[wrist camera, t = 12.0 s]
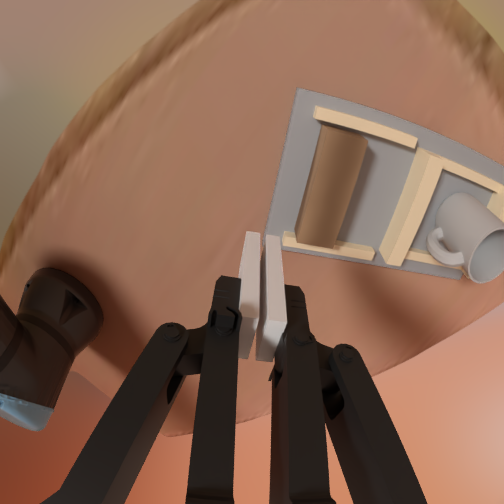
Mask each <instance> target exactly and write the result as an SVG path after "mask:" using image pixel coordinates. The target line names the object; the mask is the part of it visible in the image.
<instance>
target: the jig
mask: <svg viewBox="0 0 504 504" xmlns="http://www.w3.org/2000/svg"><path fill="white" fill-rule="evenodd" d="M322 124H324V125H328V126H332V127H336V128H340V129H343V130H347V131H351V132H354V133H358V134H360V135H361V136H363V137H364V138H365V139H367V140H368V144H367V148H366V151H365V154H364V158H363V161H362V164H361V168H360V171H359V174H358V177H357V180H356V183H355V186H354V190H353V193H352V196H351V199H350V202H349V205H348V208H347V211H346V214H345V216H344V219H343V222H342V225H341V228H340V231H339V234H338V236H337V239H336V242H335V245H334V247H333V249H330V248H324V247H318V246H312V245H307V244H301V243H297V241H296V236H295V230H294V227H295V224H296V220H297V217H298V213H299V209H300V206H301V202H302V198H303V194H304V191H305V187H306V183H307V179H308V176H309V172H310V168H311V164H312V160H313V156H314V153H315V149H316V145H317V141H318V137H319V133H320V129H321V125H322ZM460 192H465V193H468V194H470V195H472V196H473V197H475V198H476V199H477V200H479V201H480V202H481V203H482V204H483V205H484V206H486V207H487V208H488V209H489V210H490V211H491V212H492V213H494V214H495V215H496V216H497V217H498V218H499V219H500V220H501V221H502V222H503V223H504V166H502V165H500V164H499V163H497V162H495V161H493V160H491V159H490V158H488V157H486V156H484V155H482V154H480V153H478V152H476V151H474V150H472V149H470V148H468V147H466V146H464V145H462V144H460V143H458V142H456V141H454V140H452V139H450V138H447V137H445V136H443V135H441V134H439V133H436V132H434V131H432V130H429V129H427V128H424V127H422V126H420V125H417V124H415V123H412V122H409V121H407V120H404V119H402V118H399V117H396V116H393V115H391V114H388V113H385V112H382V111H379V110H376V109H373V108H370V107H367V106H364V105H361V104H358V103H354V102H351V101H348V100H344V99H341V98H337V97H333V96H330V95H326V94H322V93H318V92H314V91H310V90H306V89H301V88H296V93H295V98H294V102H293V107H292V111H291V116H290V120H289V125H288V130H287V134H286V139H285V143H284V148H283V152H282V157H281V161H280V166H279V170H278V175H277V179H276V184H275V188H274V192H273V197H272V201H271V206H270V210H269V215H268V219H267V224H266V228H265V232H264V237H263V247H264V243H265V239H266V234H268V235H274V236H280V245H281V250H287V251H293V252H299V253H305V254H311V255H317V256H323V257H329V258H335V259H341V260H347V261H353V262H358V263H364V264H370V265H376V266H382V267H388V268H394V269H400V270H405V271H411V272H417V273H423V274H429V275H434V276H440V277H446V278H451V279H457V280H460V278H461V277H462V275H463V273H464V275H465V276H466V277H467V279H470V277H469V276H468V275H467V273H466V272H465V270H464V269H463V268H462V266H459V267H448V266H444V265H442V264H440V263H439V262H437V261H436V260H435V259H434V258H433V256H432V255H431V254H430V252H429V250H428V248H427V246H426V238H427V236H428V234H429V232H430V231H431V230H432V229H434V228H435V218H436V214H437V211H438V209H439V207H440V205H441V204H442V203H443V201H444V200H445V199H447V198H448V197H449V196H451V195H453V194H455V193H460ZM439 244H440V245H441V246H442V247H443V248H444V249H445V250H447V251H449V250H448V248H447V247H446V246H445V245H444V243H443V242H442V241H441V240H440V241H439ZM449 252H450V251H449Z"/></svg>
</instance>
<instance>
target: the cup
mask: <svg viewBox="0 0 504 504" xmlns="http://www.w3.org/2000/svg"><path fill="white" fill-rule="evenodd" d="M440 240H441V241H442V242H443V243H444V245H445V246H446V247H447V248H448V250H449V251H450V252H449V251H447V250H445V249H444V248H443V247H442V246H441V245H440V244H439V241H440ZM426 246H427V248H428V250H429V252H430V254H431V255H432V256H433V258H434V259H435V260H436V261H437V262H439V263H440V264H442V265H444V266H448V267H459V266H462V268H463V269H464V270H465V272H466V273H467V275H468V276H469V277H470V279H471V280H472V281H474V282H476V283H486V282H489V281H491V280H493V279H494V278H496V277H497V276H498V275H500V274H501V273H502V272H503V271H504V223H503V222H502V221H501V220H500V219H499V218H498V217H497V216H496V215H495V214H494V213H492V212H491V211H490V210H489V209H488V208H487V207H486V206H484V205H483V204H482V203H481V202H480V201H479V200H477V199H476V198H475V197H473V196H472V195H470V194H468V193H465V192H460V193H455V194H453V195H451V196H449V197H448V198H447V199H445V200H444V201H443V203H442V204H441V205H440V207H439V209H438V211H437V214H436V218H435V228H434V229H432V230H431V231H430V232H429V234H428V236H427V238H426Z"/></svg>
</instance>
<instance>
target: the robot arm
mask: <svg viewBox="0 0 504 504" xmlns="http://www.w3.org/2000/svg"><path fill="white" fill-rule="evenodd" d="M102 324H103V314H102V311H101V308H100V306H99V304H98V302H97V301H96V299H95V298H94V296H93V295H92V294H91V292H90V291H89V290H88V289H87V288H86V287H85V286H84V285H83V284H81V283H80V282H79V281H78V280H76V279H75V278H73V277H72V276H70V275H68V274H67V273H64V272H62V271H60V270H56V269H52V268H43V269H39V270H37V271H36V272H35V273H34V274H33V275H32V276H31V277H30V279H29V280H28V281H27V283H26V285H25V288H24V292H23V295H22V298H21V302H20V305H19V309H18V312H17V314H16V316H15V314H14V313H13V312H12V310H11V309H10V308H9V306H8V305H7V304H6V302H5V301H4V299H3V298H2V296H1V295H0V416H1V417H3V418H4V419H6V420H8V421H11V422H12V423H14V424H16V425H18V426H21V427H23V428H26V429H29V430H32V431H40V430H42V429H44V427H45V426H46V424H47V422H48V420H49V418H50V416H51V414H52V413H53V412H54V407H55V405H56V402H57V400H58V397H59V395H60V392H61V390H62V387H63V384H64V382H65V380H66V378H67V375H68V373H69V370H70V368H71V366H72V364H73V361H74V359H75V357H76V356H77V355H78V354H79V353H80V352H81V351H83V350H84V349H85V348H86V347H87V346H88V345H89V344H90V343H91V342H92V341H93V340H94V339H95V338H96V337H97V335H98V333H99V331H100V329H101V327H102ZM255 332H256V360H258V361H267V362H272V361H273V358H274V356H275V364H274V367H273V369H272V372H271V374H270V377H269V380H268V381H271V379H272V417H271V464H270V465H271V466H270V499H269V504H336V502H335V501H334V500H333V499H332V498H331V496H330V487H329V470H328V457H327V442H326V430H325V423H326V426H327V429H328V432H329V435H330V437H331V440H332V443H333V446H334V449H335V452H336V454H337V457H338V460H339V463H340V466H341V469H342V472H343V475H344V477H345V480H346V483H347V486H348V489H349V492H350V495H351V498H352V500H353V503H354V504H427V502H426V499H425V496H424V494H423V492H422V489H421V487H420V484H419V482H418V479H417V477H416V475H415V472H414V470H413V467H412V465H411V463H410V461H409V458H408V456H407V454H406V451H405V449H404V447H403V445H402V442H401V440H400V438H399V435H398V433H397V431H396V429H395V427H394V425H393V422H392V420H391V418H390V416H389V414H388V411H387V410H386V407H385V405H384V403H383V401H382V399H381V397H380V395H379V393H378V390H377V388H376V386H375V384H374V382H373V380H372V378H371V376H370V374H369V372H368V370H367V368H366V366H365V364H364V361H363V359H362V357H361V355H360V353H359V352H358V351H357V349H355V348H354V347H353V346H351V345H348V344H339V345H337V346H335V347H334V349H333V348H331V347H328V346H325V345H323V344H321V343H319V342H317V341H316V339H315V337H314V335H313V334H312V333H311V332H310V329H309V322H308V315H307V309H306V303H305V295H304V293H303V291H302V290H301V288H300V287H298V286H292V285H285V284H284V278H283V266H282V255H281V245H280V236H274V235H268V234H266V239H265V243H264V247H263V251H262V256H261V260H260V233H256V232H250V231H247V232H246V237H245V243H244V248H243V253H242V258H241V264H240V269H239V278H234V277H228V276H222V275H221V277H220V278H219V279H218V280H217V281H216V284H215V290H214V295H213V301H212V306H211V309H210V312H209V315H208V322H207V323H206V324H205V325H204V326H202V327H200V328H197V329H189V330H186V328H185V327H184V326H182V325H180V324H178V323H173V322H171V323H165V324H163V325H161V326H160V327H159V328H158V329H157V330H156V332H155V333H154V335H153V336H152V338H151V339H150V341H149V342H148V344H147V346H146V347H145V349H144V350H143V352H142V353H141V355H140V356H139V358H138V360H137V361H136V363H135V364H134V366H133V367H132V369H131V371H130V372H129V374H128V375H127V377H126V379H125V380H124V382H123V383H122V385H121V387H120V388H119V390H118V391H117V393H116V395H115V396H114V398H113V399H112V401H111V403H110V404H109V406H108V408H107V409H106V411H105V413H104V414H103V416H102V418H101V419H100V421H99V422H98V424H97V426H96V428H95V429H94V431H93V432H92V434H91V436H90V438H89V439H88V441H87V443H86V444H85V446H84V448H83V449H82V451H81V453H80V455H79V456H78V458H77V460H76V462H75V463H74V465H73V467H72V468H71V470H70V472H69V474H68V476H67V477H66V479H65V481H64V483H63V484H62V486H61V488H60V490H58V491H57V492H56V493H54V494H53V495H52V496H50V497H49V498H47V499H46V500H45V501H43V502H42V503H40V504H124V503H125V501H126V499H127V497H128V495H129V493H130V491H131V488H132V486H133V484H134V482H135V480H136V478H137V476H138V474H139V472H140V470H141V468H142V466H143V464H144V462H145V460H146V457H147V455H148V453H149V451H150V449H151V447H152V445H153V443H154V441H155V439H156V437H157V435H158V433H159V431H160V429H161V427H162V425H163V423H164V421H165V419H166V417H167V415H168V413H169V410H170V408H171V406H172V404H173V402H174V400H175V398H176V396H177V394H178V392H179V390H180V388H181V386H182V384H183V382H184V380H185V378H186V376H187V375H193V374H200V382H199V390H198V397H197V405H196V413H195V422H194V430H193V439H192V448H191V457H190V466H189V476H188V486H187V494H186V502H185V504H234V498H233V477H234V448H235V423H236V398H237V374H238V358H242V359H248V356H249V353H250V349H251V346H252V342H253V339H254V335H255Z"/></svg>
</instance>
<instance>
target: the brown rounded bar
mask: <svg viewBox="0 0 504 504" xmlns="http://www.w3.org/2000/svg"><path fill="white" fill-rule="evenodd" d="M367 144H368V140H367V139H365V138H364V137H363V136H361V135H360V134H358V133H354V132H351V131H347V130H343V129H340V128H336V127H332V126H328V125H324V124H322V125H321V129H320V133H319V137H318V141H317V145H316V149H315V153H314V156H313V160H312V164H311V168H310V172H309V176H308V179H307V183H306V187H305V191H304V194H303V198H302V202H301V206H300V209H299V213H298V217H297V220H296V224H295V227H294V230H295V236H296V241H297V243H301V244H307V245H312V246H318V247H324V248H330V249H333V247H334V245H335V242H336V239H337V236H338V234H339V231H340V228H341V225H342V222H343V219H344V216H345V214H346V211H347V208H348V205H349V202H350V199H351V196H352V193H353V190H354V186H355V183H356V180H357V177H358V174H359V171H360V168H361V164H362V161H363V158H364V154H365V151H366V148H367Z"/></svg>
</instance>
